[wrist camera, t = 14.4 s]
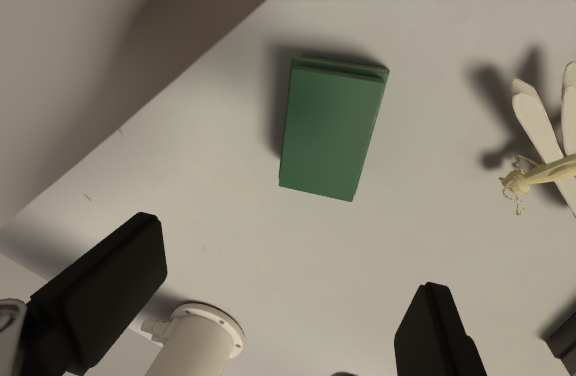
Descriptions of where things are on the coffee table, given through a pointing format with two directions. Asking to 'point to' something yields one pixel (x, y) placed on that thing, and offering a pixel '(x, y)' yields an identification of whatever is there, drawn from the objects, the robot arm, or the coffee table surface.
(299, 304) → the coffee table surface
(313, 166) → the green book
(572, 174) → the toy
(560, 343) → the grey books
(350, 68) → the green stack
